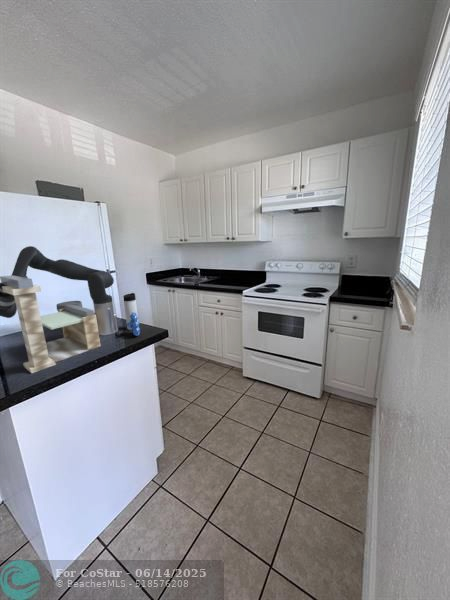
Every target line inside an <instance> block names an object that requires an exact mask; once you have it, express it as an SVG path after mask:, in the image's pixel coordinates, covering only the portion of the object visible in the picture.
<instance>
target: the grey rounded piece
mask: <svg viewBox="0 0 450 600" xmlns="http://www.w3.org/2000/svg"><path fill="white" fill-rule="evenodd" d="M68 304H73V305H76V306H80V307H83V302H82V301H81V300H69V301H63V302H60V303H57V304H56V311H57V312H59V310H60V309H64V308H65V306H64V305H68Z"/></svg>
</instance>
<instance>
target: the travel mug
mask: <svg viewBox="0 0 450 600" xmlns="http://www.w3.org/2000/svg"><path fill="white" fill-rule="evenodd" d="M122 297H123V305H124V314H125V320H126V324H127V323H128V322H130V320H131V318H130V316H131V314H132V313H133V312H134V313H136V314H137V317H138V315H139V314H138V306H137V298H136V293H135V292H131V293H127V294H124V295H123V296H122ZM137 321H138V322H139V317H138V319H137ZM138 327H139V328H140V325H139V326H138ZM126 330H128V331H133V330H132V329H131V328H128V327H127V326H126Z"/></svg>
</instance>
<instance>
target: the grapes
mask: <svg viewBox="0 0 450 600" xmlns="http://www.w3.org/2000/svg"><path fill="white" fill-rule="evenodd" d="M137 314H138V313H137ZM137 314H136V313H134V312H133V313H132V314H131V316H130V318H131V320H130V322H128V323H127V322H126V328H127V327H128V328H131V329H132V330H131V331H132V334H133V335H134V336H135V337H139V335H140V334H141V328H140V324H141V323H140V322H139V317H137ZM137 319H138V321H137ZM138 326H139V327H138Z"/></svg>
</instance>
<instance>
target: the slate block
mask: <svg viewBox="0 0 450 600" xmlns="http://www.w3.org/2000/svg"><path fill="white" fill-rule="evenodd" d="M0 283H2V284H4V285H8V286H11V287H15V288H18V289H22V288H30V287H33V285H34V283H33V278H29V277H28V278H24V277H19V276H13V275H12V274H11V275H1V276H0Z"/></svg>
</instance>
